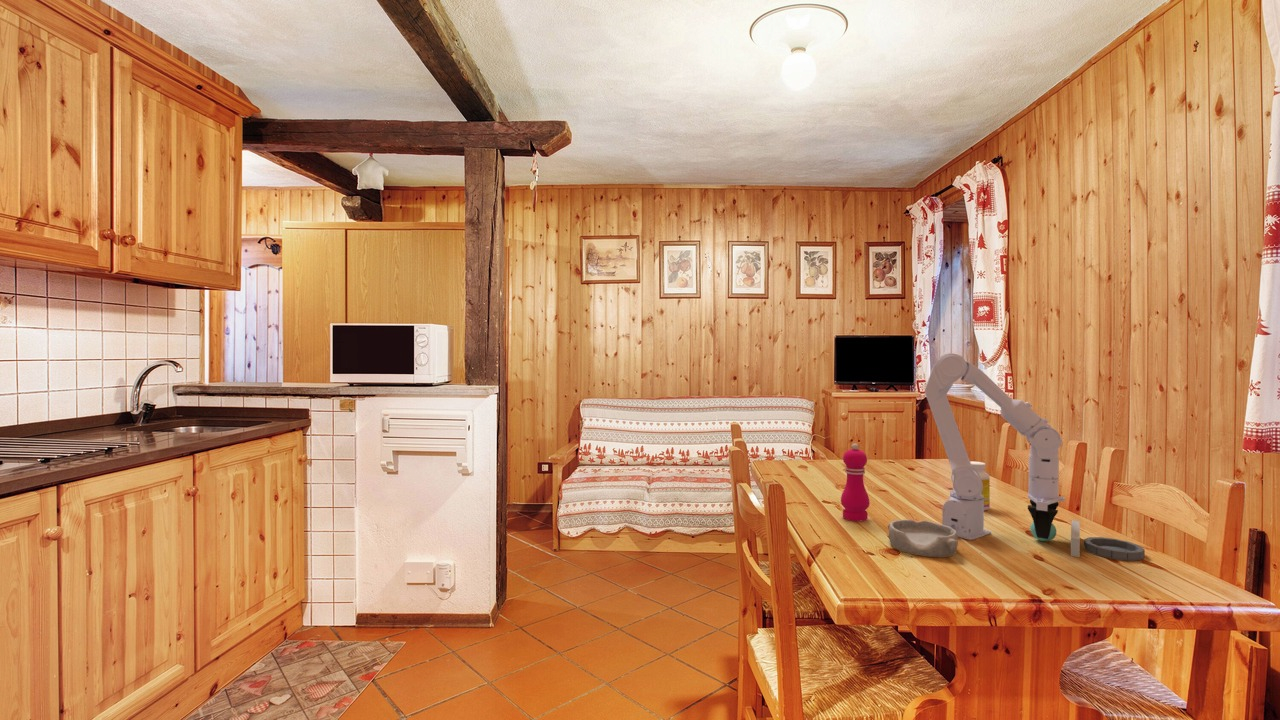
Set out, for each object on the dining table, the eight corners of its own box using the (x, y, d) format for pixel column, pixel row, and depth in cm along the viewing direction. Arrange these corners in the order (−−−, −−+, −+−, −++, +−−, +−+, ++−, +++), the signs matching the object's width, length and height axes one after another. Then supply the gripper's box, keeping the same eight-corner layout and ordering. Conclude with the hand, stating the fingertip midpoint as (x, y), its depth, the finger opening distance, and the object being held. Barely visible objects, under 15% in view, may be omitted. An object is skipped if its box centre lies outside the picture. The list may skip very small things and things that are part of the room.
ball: (1050, 545, 131) (1050, 523, 131) (1026, 539, 135) (1026, 518, 135) (1060, 541, 133) (1060, 520, 133) (1036, 535, 138) (1036, 515, 138)
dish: (966, 561, 122) (966, 538, 122) (896, 557, 125) (896, 534, 125) (944, 539, 137) (944, 518, 136) (882, 536, 139) (882, 515, 139)
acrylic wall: (1079, 557, 124) (1079, 539, 124) (1070, 556, 125) (1070, 537, 125) (1079, 537, 136) (1079, 521, 136) (1071, 536, 137) (1071, 519, 137)
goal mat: (1133, 564, 120) (1133, 555, 120) (1076, 550, 128) (1076, 542, 128) (1150, 554, 125) (1150, 546, 125) (1095, 542, 133) (1095, 534, 133)
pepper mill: (835, 515, 156) (834, 442, 156) (857, 513, 159) (857, 440, 158) (852, 523, 149) (852, 446, 149) (875, 520, 152) (875, 444, 151)
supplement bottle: (995, 509, 161) (995, 464, 160) (978, 512, 158) (978, 465, 158) (973, 504, 167) (973, 459, 167) (956, 506, 164) (956, 461, 164)
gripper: (1064, 484, 126) (1063, 546, 126) (1065, 473, 137) (1065, 529, 138) (1025, 480, 130) (1025, 540, 130) (1029, 469, 142) (1029, 524, 142)
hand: (1043, 534), depth 134 cm, fingers closed on ball, 5 cm apart
